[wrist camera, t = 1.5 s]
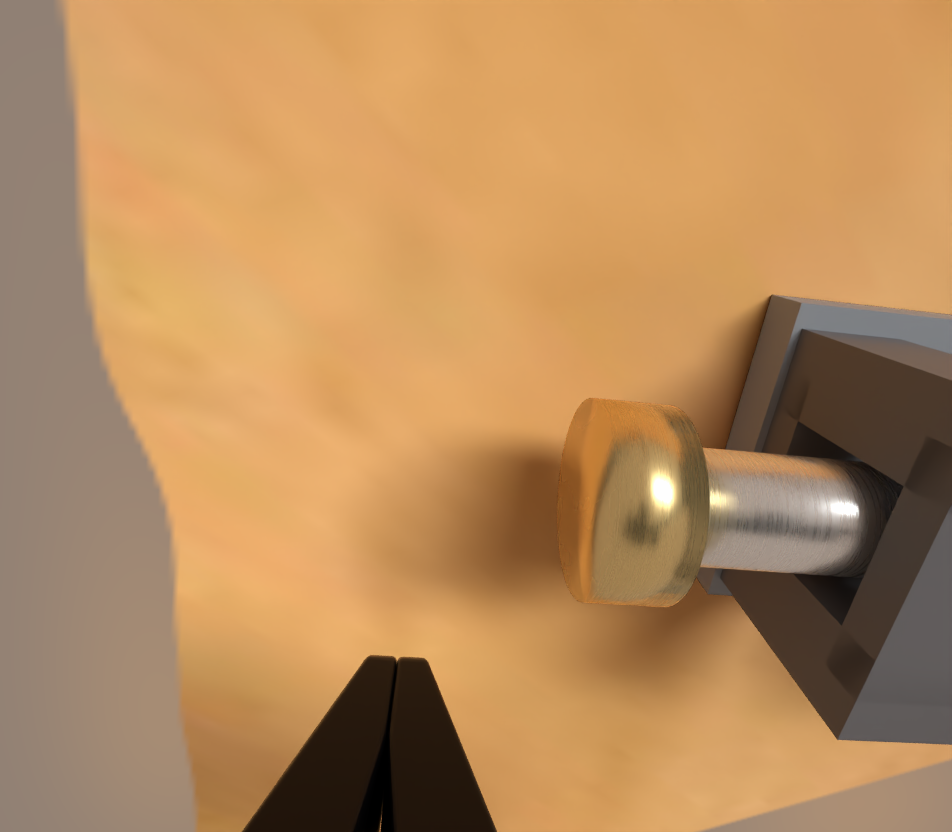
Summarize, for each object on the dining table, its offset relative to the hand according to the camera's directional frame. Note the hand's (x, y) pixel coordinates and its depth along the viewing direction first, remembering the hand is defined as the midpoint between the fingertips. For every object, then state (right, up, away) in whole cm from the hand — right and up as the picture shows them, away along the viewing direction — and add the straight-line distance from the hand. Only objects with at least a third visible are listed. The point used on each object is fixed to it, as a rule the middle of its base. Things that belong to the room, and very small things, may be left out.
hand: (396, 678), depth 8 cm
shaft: (+11, +2, +9) cm, 14 cm away
